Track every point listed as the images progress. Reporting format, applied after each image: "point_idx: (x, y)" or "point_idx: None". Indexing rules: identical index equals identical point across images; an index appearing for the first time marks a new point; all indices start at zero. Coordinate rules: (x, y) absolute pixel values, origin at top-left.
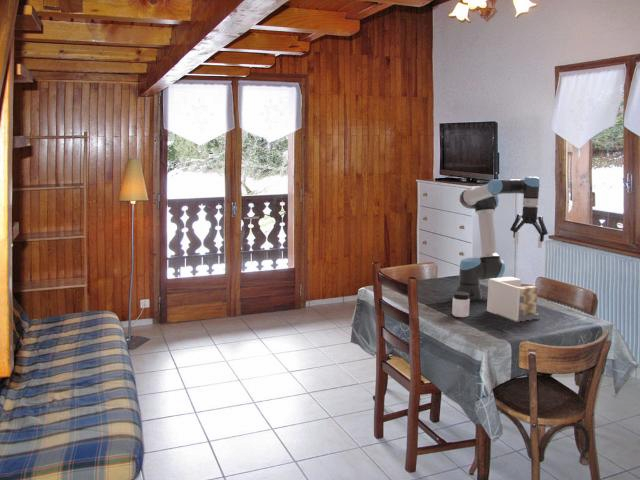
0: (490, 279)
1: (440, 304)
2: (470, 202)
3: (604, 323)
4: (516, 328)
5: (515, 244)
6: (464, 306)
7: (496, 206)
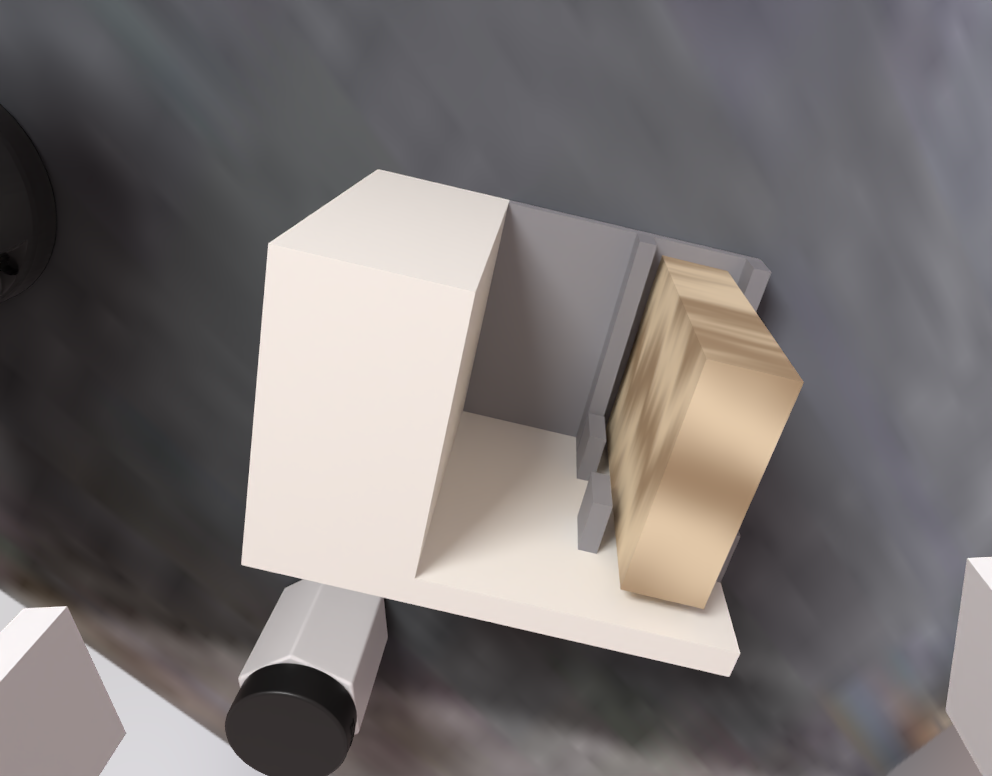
0: (275, 570)
1: (58, 521)
2: None
3: None
4: (763, 581)
5: (122, 731)
6: (370, 689)
7: None
